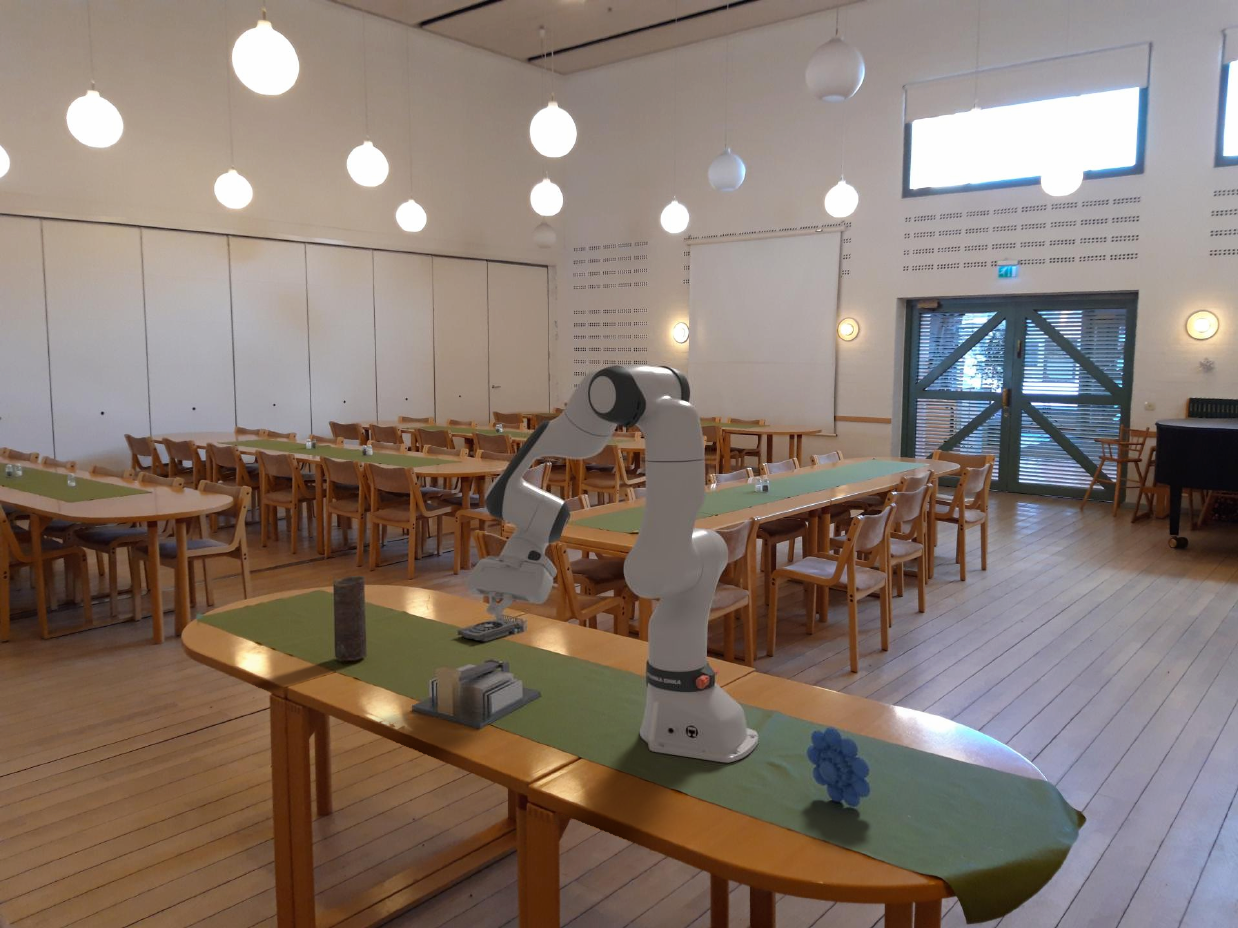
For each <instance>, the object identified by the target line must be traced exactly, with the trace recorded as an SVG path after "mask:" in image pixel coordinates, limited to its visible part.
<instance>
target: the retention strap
mask: <svg viewBox="0 0 1238 928" xmlns="http://www.w3.org/2000/svg"><path fill="white" fill-rule="evenodd" d="M503 663H505V662H504V661H503V662H502V661H499V660H494V659H493V660H490V662H487V663H485V662H484V663H481V664H478V665H476V666H475V667H472V668H469V669H466V670H463V671H461V676H459V682H461V681H464V680H467V679H469V678H472V677H475V676H478V675H481V674H484V673H487V672H490V671H492V670H498V669H501V664H503Z"/></svg>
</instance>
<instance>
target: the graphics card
mask: <svg viewBox="0 0 1238 928" xmlns="http://www.w3.org/2000/svg"><path fill="white" fill-rule="evenodd" d="M494 617H495V618H493V619H490V620H487V621H486V620H485V621H482V622H479V623H477V624H473V625H469V626H466V627H463V628H460V629H457V636H462V637H464V638H465V639H473V640H475V641H481V642H484V641H485V642H488V641H491V640H495V639H497V638H499V639H500V638H501V637H504V636H505V637H506V638H508V637H513V636H515V635H519V634H522V633H524V632H526V631H528V624H527V622H528V620H527V619H523V618H519V617H514V616H511V615H507V614H503V613H502V615H501V616H497V615H494Z"/></svg>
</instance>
